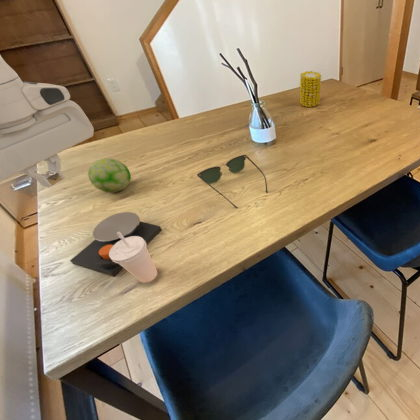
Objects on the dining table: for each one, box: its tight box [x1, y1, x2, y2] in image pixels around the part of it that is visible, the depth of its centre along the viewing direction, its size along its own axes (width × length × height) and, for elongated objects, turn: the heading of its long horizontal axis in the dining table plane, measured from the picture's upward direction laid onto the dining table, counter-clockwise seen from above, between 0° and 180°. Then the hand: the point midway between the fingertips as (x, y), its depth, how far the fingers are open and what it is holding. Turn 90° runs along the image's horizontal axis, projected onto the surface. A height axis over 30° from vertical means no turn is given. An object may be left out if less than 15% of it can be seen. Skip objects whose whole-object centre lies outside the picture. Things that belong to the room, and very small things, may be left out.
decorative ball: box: [87, 157, 132, 193], centre depth 81 cm, size 10×10×10 cm
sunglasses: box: [196, 154, 268, 209], centre depth 83 cm, size 16×17×5 cm
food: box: [299, 70, 322, 108], centre depth 127 cm, size 15×12×10 cm
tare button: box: [99, 245, 113, 260], centre depth 62 cm, size 3×3×2 cm
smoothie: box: [109, 232, 158, 284], centre depth 56 cm, size 6×6×14 cm
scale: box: [69, 220, 163, 278], centre depth 66 cm, size 15×12×3 cm
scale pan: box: [92, 211, 141, 243], centre depth 68 cm, size 10×10×1 cm
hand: (54, 182), depth 48 cm, fingers closed
